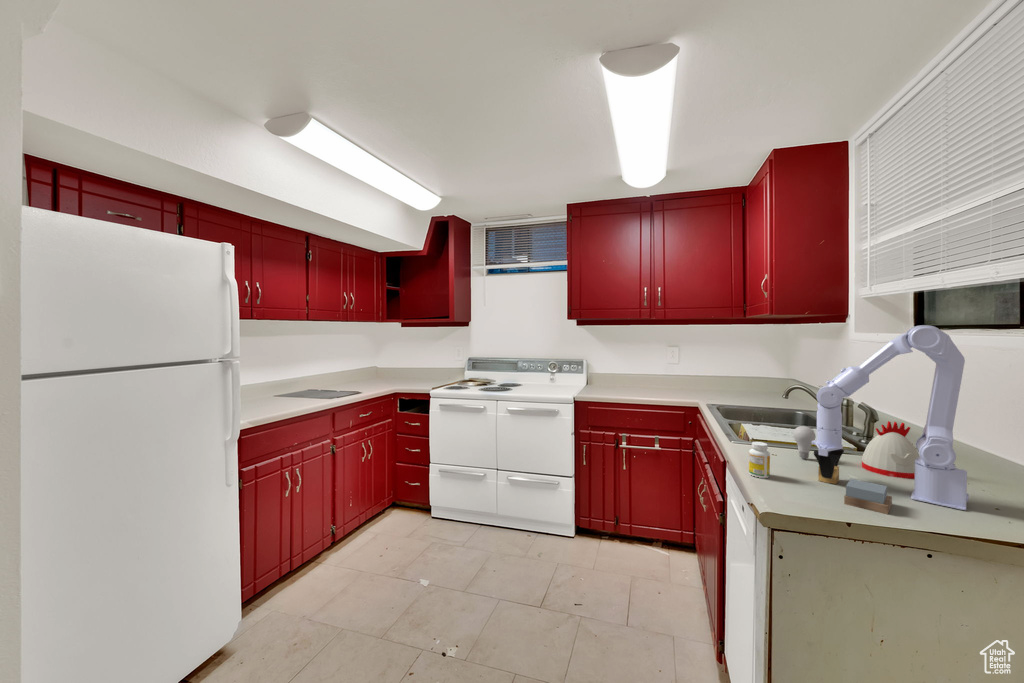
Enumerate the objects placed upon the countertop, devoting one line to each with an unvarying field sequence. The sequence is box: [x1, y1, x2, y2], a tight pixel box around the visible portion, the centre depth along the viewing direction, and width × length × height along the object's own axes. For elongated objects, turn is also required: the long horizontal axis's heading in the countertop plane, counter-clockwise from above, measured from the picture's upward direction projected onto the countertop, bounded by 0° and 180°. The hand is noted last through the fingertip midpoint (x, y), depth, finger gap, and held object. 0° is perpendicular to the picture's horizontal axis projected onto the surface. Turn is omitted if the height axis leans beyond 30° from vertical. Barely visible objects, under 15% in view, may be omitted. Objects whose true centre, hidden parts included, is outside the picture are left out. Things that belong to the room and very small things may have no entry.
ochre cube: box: [817, 466, 840, 485], centre depth 118 cm, size 4×4×4 cm
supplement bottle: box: [748, 441, 771, 479], centre depth 124 cm, size 5×5×10 cm
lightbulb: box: [792, 425, 817, 460], centre depth 138 cm, size 6×6×11 cm
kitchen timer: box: [861, 420, 920, 480], centre depth 126 cm, size 14×14×15 cm
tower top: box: [845, 478, 888, 504], centre depth 103 cm, size 7×7×2 cm
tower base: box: [843, 494, 893, 515], centre depth 103 cm, size 8×8×2 cm
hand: (828, 475), depth 119 cm, fingers closed on ochre cube, 4 cm apart
